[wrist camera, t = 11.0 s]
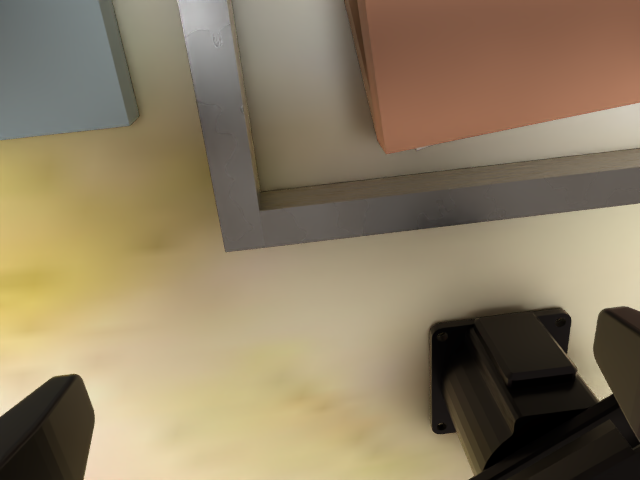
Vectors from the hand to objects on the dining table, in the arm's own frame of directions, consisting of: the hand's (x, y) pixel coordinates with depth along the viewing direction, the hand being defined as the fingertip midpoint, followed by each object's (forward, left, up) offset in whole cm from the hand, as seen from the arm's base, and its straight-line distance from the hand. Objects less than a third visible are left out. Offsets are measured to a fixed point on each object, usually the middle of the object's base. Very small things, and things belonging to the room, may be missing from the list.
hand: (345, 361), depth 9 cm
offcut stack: (+4, -7, -13) cm, 16 cm away
